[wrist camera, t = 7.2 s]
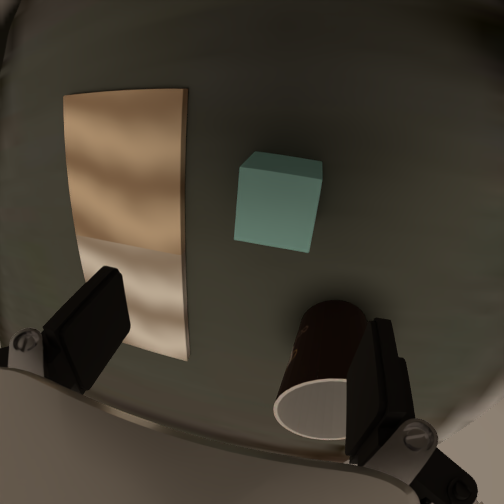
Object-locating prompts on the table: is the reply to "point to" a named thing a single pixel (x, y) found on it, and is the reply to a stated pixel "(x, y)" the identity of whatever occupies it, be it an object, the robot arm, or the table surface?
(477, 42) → the table surface
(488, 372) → the table surface
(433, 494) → the robot arm
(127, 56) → the table surface
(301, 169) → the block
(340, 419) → the coffee mug
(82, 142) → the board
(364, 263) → the table surface
